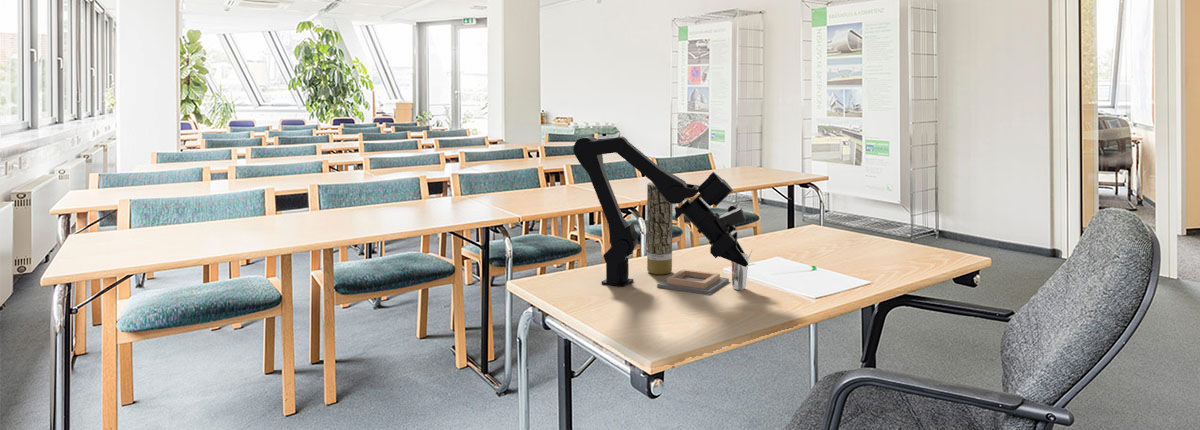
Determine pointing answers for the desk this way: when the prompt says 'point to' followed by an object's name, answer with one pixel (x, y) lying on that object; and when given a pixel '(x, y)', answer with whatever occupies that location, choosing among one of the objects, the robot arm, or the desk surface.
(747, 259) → the milkshake
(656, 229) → the brown tall cylinder
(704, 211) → the robot arm
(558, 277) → the desk surface
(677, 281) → the dock
